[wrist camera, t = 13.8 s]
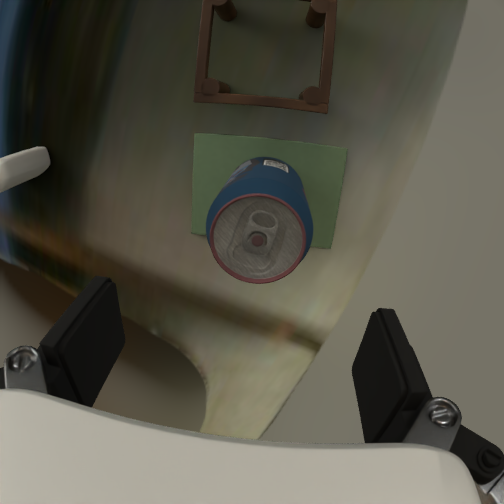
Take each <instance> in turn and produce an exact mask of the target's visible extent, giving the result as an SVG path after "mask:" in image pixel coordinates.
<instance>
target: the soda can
mask: <svg viewBox="0 0 504 504" xmlns="http://www.w3.org/2000/svg"><path fill="white" fill-rule="evenodd" d="M206 235H207V240H208V243H209V246H210V248H211V250H212V253H213V256H214V258H215V259H216V261H217V263H218V264H219V265H220V266H221V267H222V269H223V270H225V271H226V272H227V273H228V274H230V275H231V276H233V277H234V278H236V279H239V280H241V281H244V282H248V283H255V284H263V283H270V282H274V281H277V280H279V279H281V278H283V277H285V276H287V275H288V274H290V273H291V272H292V271H293V270H294V269H295V268H296V267H297V266H298V264H299V263H300V262H301V261H302V260H303V258H304V257H305V256H306V254H307V252H308V250H309V248H310V245H311V242H312V238H313V220H312V216H311V212H310V209H309V205H308V201H307V198H306V194H305V191H304V187H303V184H302V181H301V179H300V177H299V175H298V174H297V172H296V171H295V170H294V169H293V168H292V167H291V166H290V165H289V164H287V163H286V162H284V161H282V160H280V159H277V158H273V157H256V158H252V159H250V160H247V161H246V162H244V163H242V164H241V165H240V166H238V167H237V168H236V169H235V171H234V172H233V173H232V175H231V176H230V178H229V179H228V181H227V182H226V183H225V185H224V186H223V188H222V189H221V191H220V192H219V194H218V195H217V197H216V198H215V200H214V201H213V203H212V204H211V206H210V209H209V211H208V214H207V219H206Z"/></svg>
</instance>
